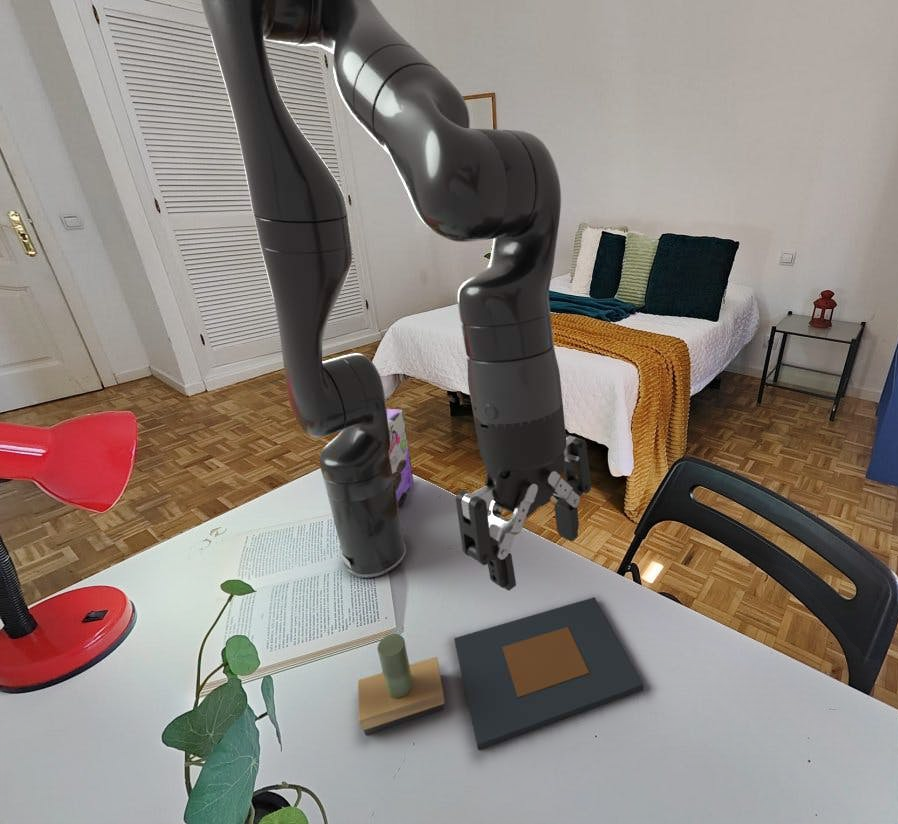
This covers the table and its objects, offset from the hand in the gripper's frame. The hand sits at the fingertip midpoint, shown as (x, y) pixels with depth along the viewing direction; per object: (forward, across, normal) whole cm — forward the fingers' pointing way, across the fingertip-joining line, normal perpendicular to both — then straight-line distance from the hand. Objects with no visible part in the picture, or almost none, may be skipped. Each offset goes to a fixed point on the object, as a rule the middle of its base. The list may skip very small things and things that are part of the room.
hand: (538, 559), depth 47 cm
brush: (+20, +11, -14) cm, 27 cm away
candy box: (+16, -8, -50) cm, 53 cm away
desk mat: (+22, -4, -6) cm, 23 cm away
